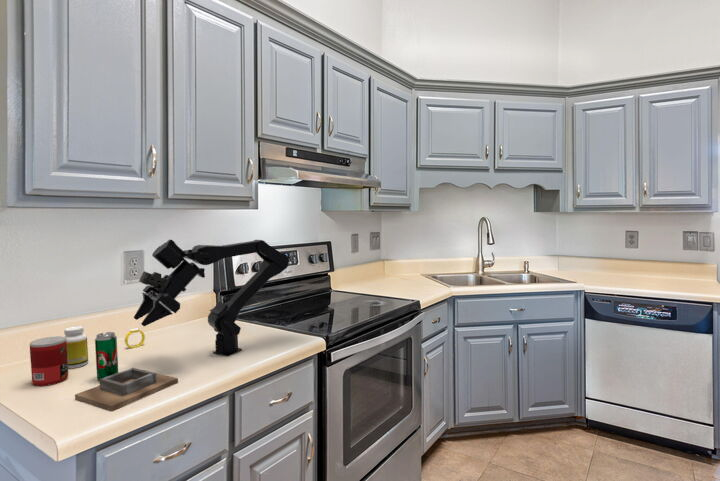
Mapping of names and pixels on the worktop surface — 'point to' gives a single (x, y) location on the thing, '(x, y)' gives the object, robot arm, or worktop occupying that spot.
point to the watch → (134, 332)
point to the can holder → (125, 388)
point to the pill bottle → (76, 347)
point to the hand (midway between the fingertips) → (138, 322)
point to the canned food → (49, 360)
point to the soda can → (106, 354)
